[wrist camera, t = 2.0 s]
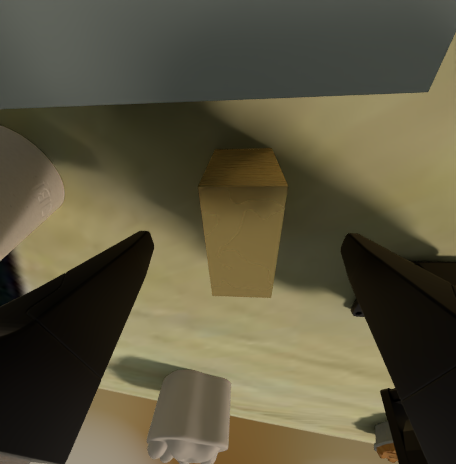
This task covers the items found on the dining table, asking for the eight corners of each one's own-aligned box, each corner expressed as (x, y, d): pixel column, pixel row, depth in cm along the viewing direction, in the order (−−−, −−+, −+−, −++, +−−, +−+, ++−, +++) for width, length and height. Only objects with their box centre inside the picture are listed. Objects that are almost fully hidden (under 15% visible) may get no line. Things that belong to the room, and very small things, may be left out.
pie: (344, 422, 42) (354, 458, 38) (469, 403, 30) (503, 451, 26) (402, 441, 48) (416, 474, 44) (522, 431, 37) (557, 473, 33)
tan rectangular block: (263, 237, 14) (271, 297, 10) (221, 236, 14) (212, 295, 10) (271, 147, 10) (288, 186, 6) (215, 148, 11) (197, 186, 7)
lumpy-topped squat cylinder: (239, 381, 31) (237, 466, 24) (206, 400, 38) (198, 470, 31) (176, 365, 29) (155, 453, 22) (154, 388, 36) (133, 460, 29)
